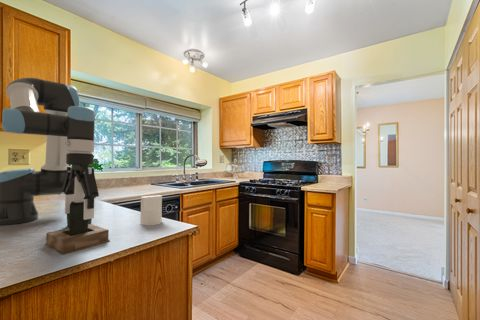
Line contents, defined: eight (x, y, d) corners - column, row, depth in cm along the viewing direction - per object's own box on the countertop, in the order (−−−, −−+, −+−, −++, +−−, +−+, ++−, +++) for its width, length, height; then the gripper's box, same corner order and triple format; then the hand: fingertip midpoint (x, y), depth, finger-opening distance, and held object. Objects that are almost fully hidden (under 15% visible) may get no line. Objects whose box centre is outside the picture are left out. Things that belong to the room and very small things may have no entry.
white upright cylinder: (156, 219, 108) (157, 194, 108) (164, 222, 102) (165, 196, 102) (137, 222, 102) (137, 196, 102) (145, 226, 95) (145, 198, 95)
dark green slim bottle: (68, 240, 76) (71, 167, 76) (86, 237, 79) (89, 167, 79) (68, 245, 72) (71, 167, 72) (87, 242, 75) (90, 167, 75)
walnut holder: (44, 245, 73) (45, 232, 73) (90, 234, 84) (90, 223, 84) (62, 254, 66) (62, 241, 66) (109, 241, 77) (109, 229, 77)
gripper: (51, 152, 79) (50, 212, 78) (86, 152, 66) (84, 224, 65) (76, 153, 85) (74, 209, 85) (111, 153, 72) (110, 218, 72)
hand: (78, 215), depth 75 cm, fingers open, 13 cm apart
